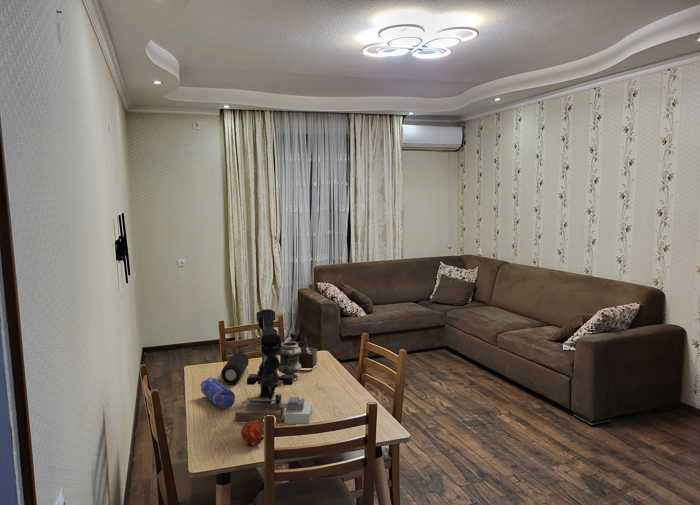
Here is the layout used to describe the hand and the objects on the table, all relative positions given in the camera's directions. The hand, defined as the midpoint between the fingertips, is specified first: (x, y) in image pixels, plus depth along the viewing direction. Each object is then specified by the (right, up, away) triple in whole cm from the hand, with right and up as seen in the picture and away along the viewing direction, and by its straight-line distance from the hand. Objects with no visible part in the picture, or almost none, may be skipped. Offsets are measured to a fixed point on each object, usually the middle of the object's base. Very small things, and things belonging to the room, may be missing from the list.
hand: (270, 399), depth 212 cm
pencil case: (-26, -6, +16) cm, 32 cm away
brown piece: (+7, -2, +66) cm, 67 cm away
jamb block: (+12, -7, 0) cm, 14 cm away
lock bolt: (+6, -3, 0) cm, 7 cm away
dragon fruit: (-3, -10, -22) cm, 24 cm away
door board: (-4, -7, +1) cm, 9 cm away
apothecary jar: (+2, -3, +48) cm, 49 cm away
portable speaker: (-26, -3, +50) cm, 57 cm away
